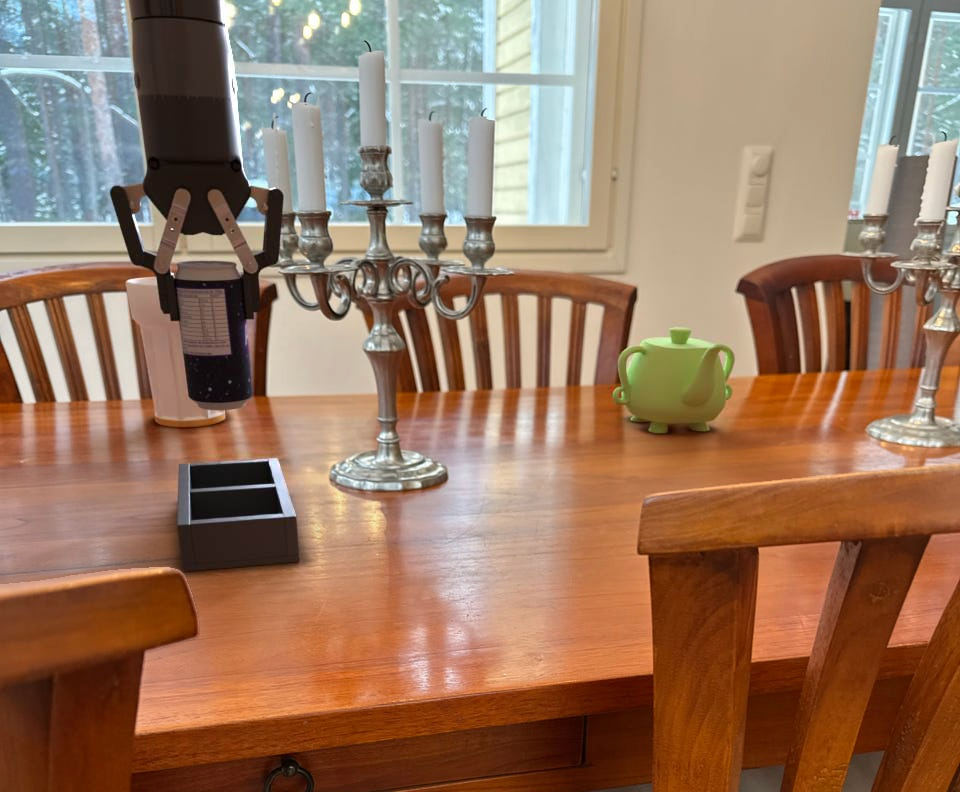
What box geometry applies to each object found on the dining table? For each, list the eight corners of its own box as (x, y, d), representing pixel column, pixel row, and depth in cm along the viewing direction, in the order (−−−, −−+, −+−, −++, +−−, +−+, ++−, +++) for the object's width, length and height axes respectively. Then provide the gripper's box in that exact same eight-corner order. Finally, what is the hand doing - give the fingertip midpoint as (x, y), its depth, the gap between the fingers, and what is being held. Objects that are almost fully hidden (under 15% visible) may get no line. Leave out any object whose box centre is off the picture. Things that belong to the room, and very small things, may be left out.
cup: (127, 424, 117) (104, 281, 109) (182, 406, 126) (164, 274, 118) (199, 433, 114) (181, 287, 106) (250, 414, 123) (237, 279, 115)
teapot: (750, 426, 123) (766, 330, 117) (707, 446, 113) (721, 342, 107) (646, 407, 132) (655, 317, 126) (596, 425, 122) (605, 327, 116)
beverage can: (263, 407, 81) (251, 264, 75) (202, 415, 78) (185, 266, 72) (239, 396, 85) (226, 259, 80) (180, 402, 82) (162, 261, 77)
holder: (183, 572, 74) (177, 525, 72) (184, 503, 89) (178, 463, 87) (299, 561, 76) (296, 516, 74) (280, 497, 92) (277, 457, 90)
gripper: (276, 101, 75) (291, 312, 83) (94, 93, 72) (127, 315, 79) (284, 94, 69) (300, 324, 77) (85, 85, 65) (122, 327, 73)
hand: (212, 318), depth 78 cm, fingers closed on beverage can, 5 cm apart
